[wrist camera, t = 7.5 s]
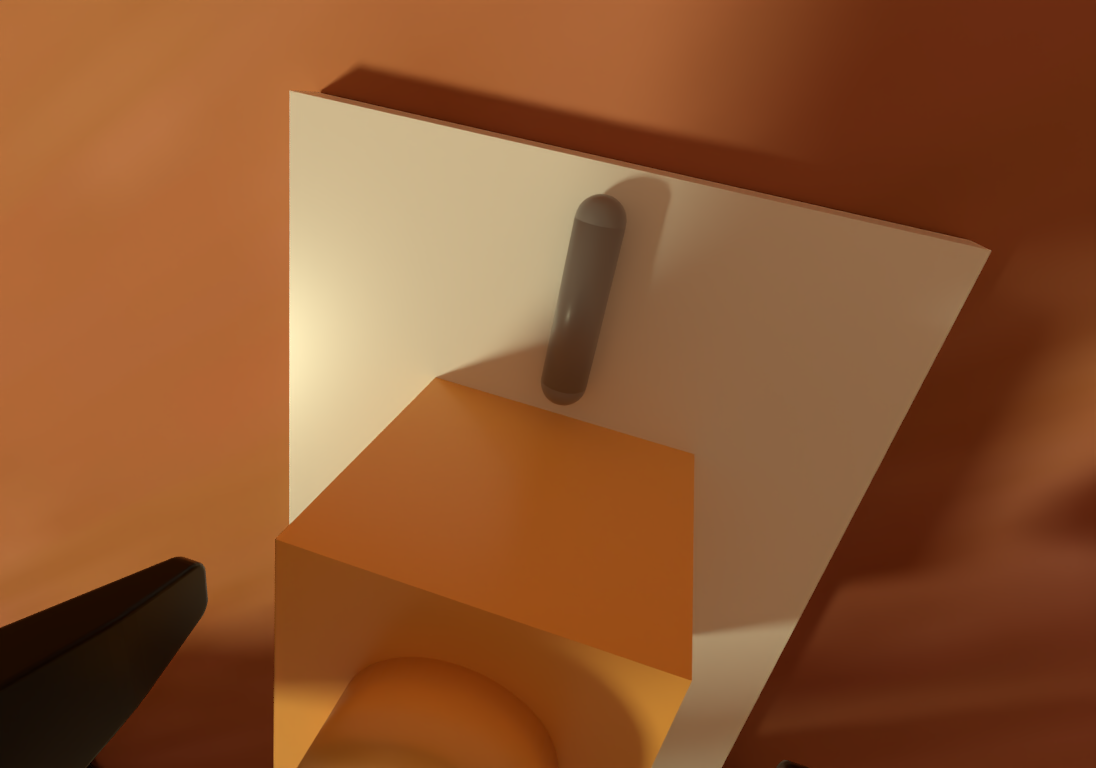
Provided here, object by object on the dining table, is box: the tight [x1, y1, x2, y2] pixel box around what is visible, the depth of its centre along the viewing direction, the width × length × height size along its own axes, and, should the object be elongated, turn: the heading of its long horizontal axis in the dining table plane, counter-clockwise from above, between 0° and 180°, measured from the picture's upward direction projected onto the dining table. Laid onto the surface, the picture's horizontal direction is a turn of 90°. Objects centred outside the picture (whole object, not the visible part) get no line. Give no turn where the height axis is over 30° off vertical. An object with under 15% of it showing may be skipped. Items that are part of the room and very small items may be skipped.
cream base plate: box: [289, 91, 992, 768], centre depth 11 cm, size 14×11×5 cm
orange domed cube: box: [274, 377, 694, 768], centre depth 10 cm, size 5×5×6 cm
